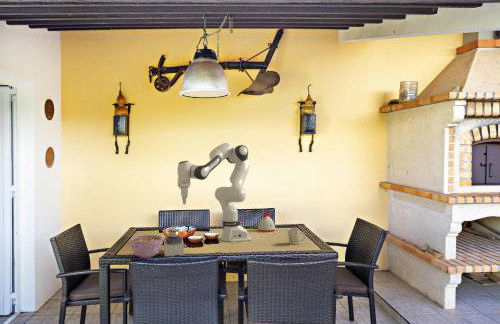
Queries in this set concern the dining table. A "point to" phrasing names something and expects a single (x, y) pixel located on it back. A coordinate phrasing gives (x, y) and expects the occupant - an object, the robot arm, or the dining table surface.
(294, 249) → the dining table surface
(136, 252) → the bowl of food
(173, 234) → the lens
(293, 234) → the mug
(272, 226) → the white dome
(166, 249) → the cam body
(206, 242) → the dining table surface
